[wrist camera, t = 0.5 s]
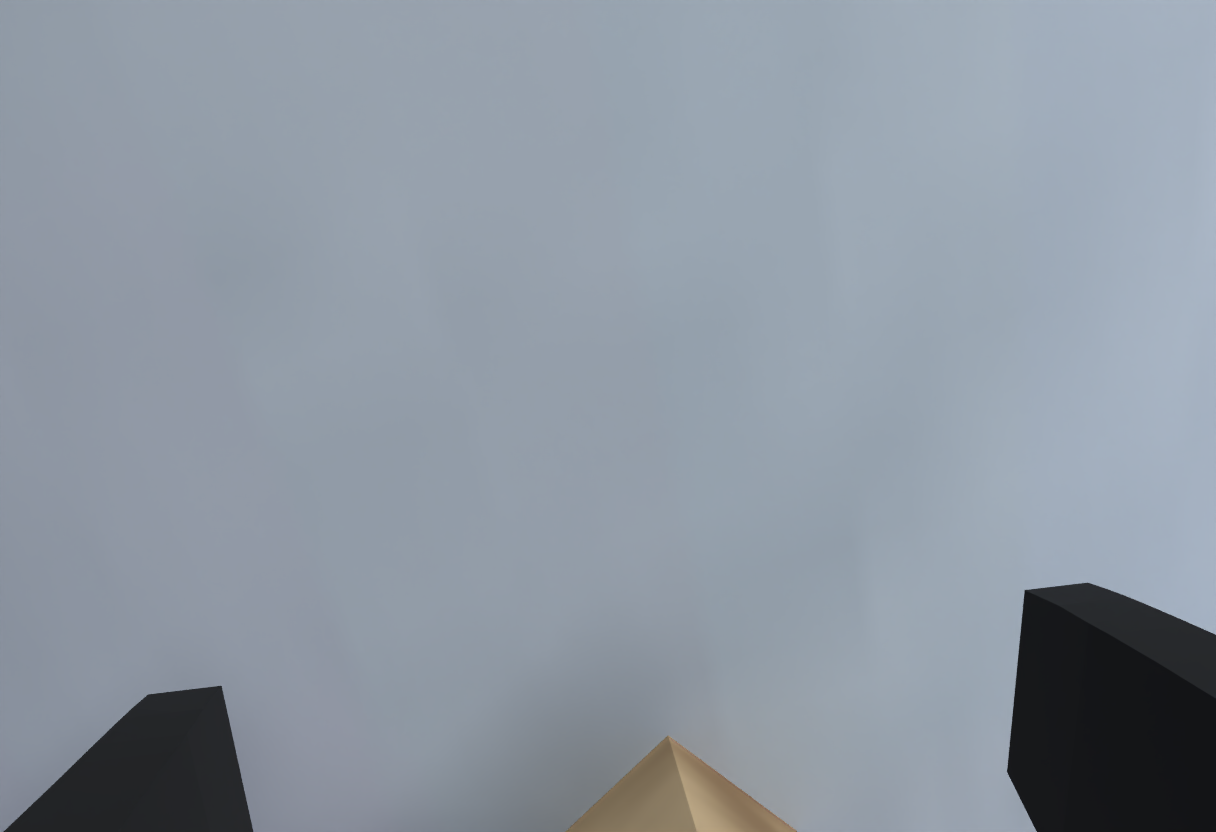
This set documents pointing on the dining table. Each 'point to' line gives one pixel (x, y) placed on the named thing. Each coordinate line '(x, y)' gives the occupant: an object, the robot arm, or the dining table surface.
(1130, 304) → the dining table surface
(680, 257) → the dining table surface
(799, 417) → the dining table surface
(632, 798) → the oak block
